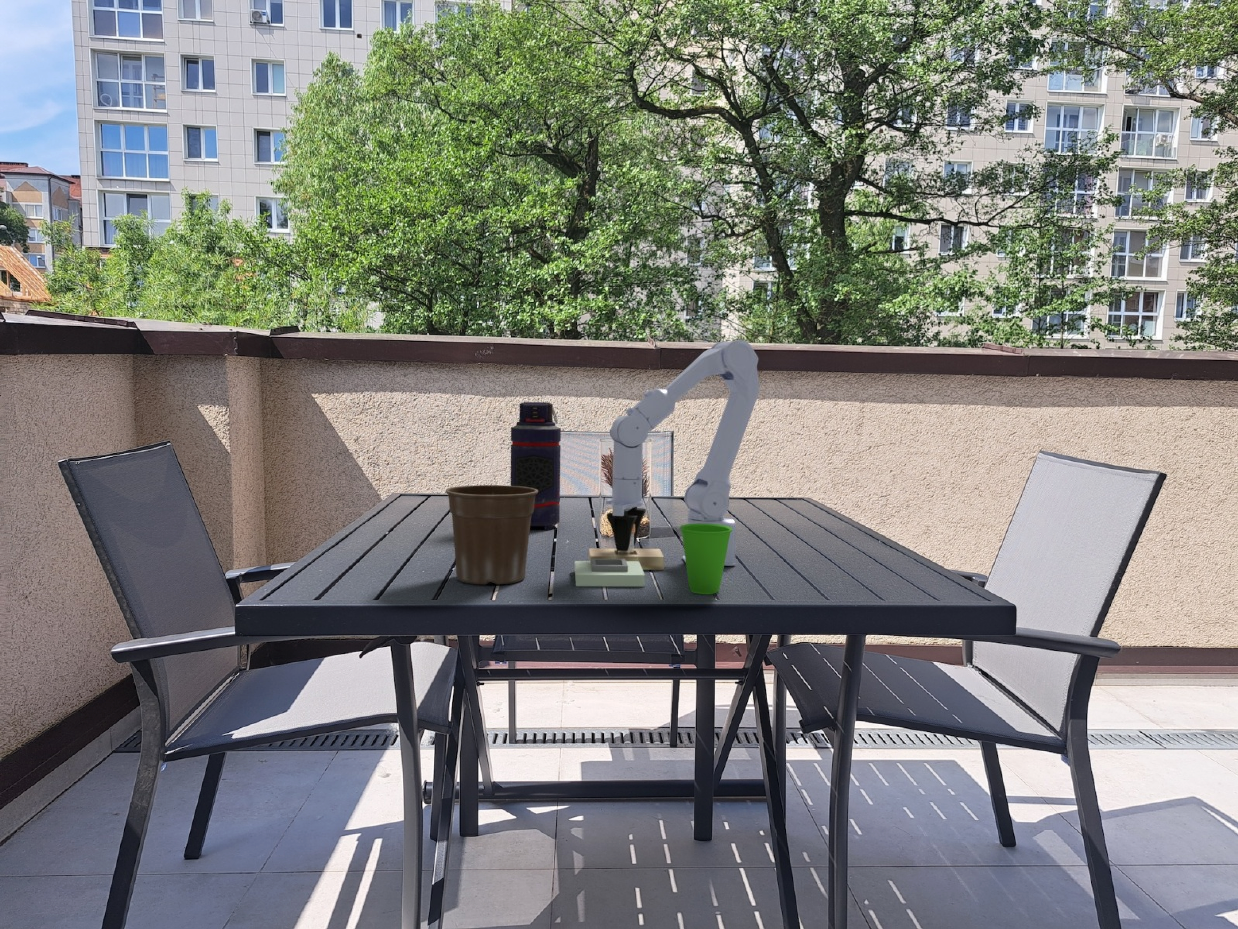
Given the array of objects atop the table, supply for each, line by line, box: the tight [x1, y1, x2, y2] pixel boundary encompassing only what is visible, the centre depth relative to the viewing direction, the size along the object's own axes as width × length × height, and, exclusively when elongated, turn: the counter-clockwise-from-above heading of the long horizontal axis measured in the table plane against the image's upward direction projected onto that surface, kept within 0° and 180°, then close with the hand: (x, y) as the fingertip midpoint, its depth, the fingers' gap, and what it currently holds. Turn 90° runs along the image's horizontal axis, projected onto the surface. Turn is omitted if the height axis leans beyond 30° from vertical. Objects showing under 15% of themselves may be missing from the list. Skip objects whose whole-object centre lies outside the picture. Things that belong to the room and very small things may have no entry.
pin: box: [618, 524, 635, 555], centre depth 176 cm, size 3×3×8 cm
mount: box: [588, 547, 665, 571], centre depth 176 cm, size 14×8×2 cm, turn 94°
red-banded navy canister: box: [510, 401, 562, 531], centre depth 219 cm, size 14×12×30 cm
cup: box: [679, 523, 733, 595], centre depth 156 cm, size 9×9×11 cm
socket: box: [574, 559, 646, 587], centre depth 164 cm, size 12×12×3 cm
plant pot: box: [445, 484, 538, 585], centre depth 162 cm, size 16×16×16 cm
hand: (625, 547), depth 176 cm, fingers open, 5 cm apart
